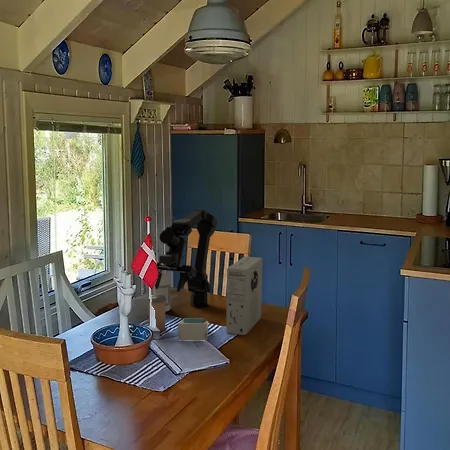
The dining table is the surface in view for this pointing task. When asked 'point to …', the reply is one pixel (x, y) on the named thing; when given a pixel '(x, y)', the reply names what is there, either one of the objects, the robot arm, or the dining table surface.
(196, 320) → the pusher paddle
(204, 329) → the pusher lane
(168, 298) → the bath foam
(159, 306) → the grey brown rounded piece
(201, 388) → the dining table surface
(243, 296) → the cereal box
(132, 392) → the dining table surface
